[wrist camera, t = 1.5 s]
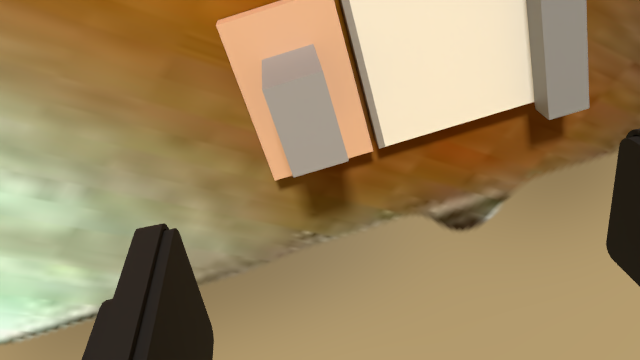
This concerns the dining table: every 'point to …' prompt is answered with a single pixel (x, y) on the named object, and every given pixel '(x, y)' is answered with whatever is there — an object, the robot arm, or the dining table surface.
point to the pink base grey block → (297, 84)
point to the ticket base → (465, 60)
